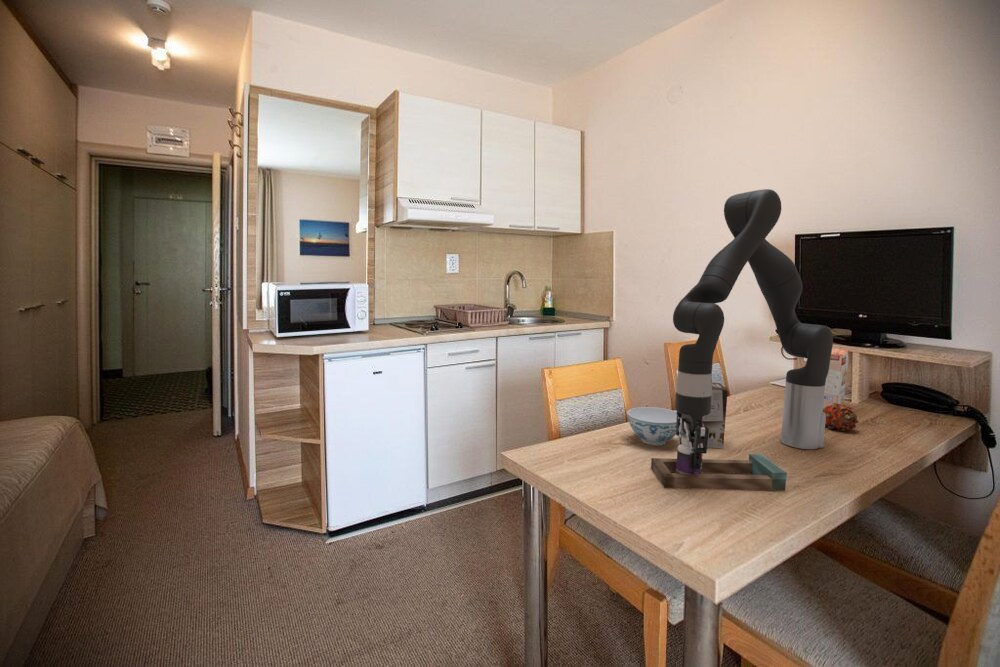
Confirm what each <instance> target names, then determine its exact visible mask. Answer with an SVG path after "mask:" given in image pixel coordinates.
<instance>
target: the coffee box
mask: <svg viewBox="0 0 1000 667" xmlns="http://www.w3.org/2000/svg"><path fill="white" fill-rule="evenodd" d="M728 390H729V389H727V388H726V387H725V386H724V385H722V383H720V382H712V397H711V412H710V414H708V415H705V416H703V417H702V420H703V424H704V427H708V428H709V434H708V444H707V448H712V449H713V448H714V449H724V445H725V443H724V442H725V432H726V431H725V430H726V429H725V428H726V417H727V406H728V405H727V404H728V393H729V391H728Z"/></svg>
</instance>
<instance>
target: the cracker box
mask: <svg viewBox="0 0 1000 667" xmlns="http://www.w3.org/2000/svg"><path fill="white" fill-rule="evenodd" d="M849 357H850V350H849V349H844V348H842V349H841V348H833V347H832V352H831V358H830V365H829V372H828V375H827V378H826V383H825V393H824V404H823V408H825V407H826V406H831V405H833V403H837V404H841V405H842V404H845V402H844V400H845V394H846V393H845V392H846V386H847V376H848V369H849V360H850V358H849Z"/></svg>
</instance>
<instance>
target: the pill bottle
mask: <svg viewBox="0 0 1000 667" xmlns="http://www.w3.org/2000/svg"><path fill="white" fill-rule="evenodd" d="M691 438H695V437H691ZM681 443H682V444H680V443H679V444H680V445H678V446H677V452H676V459H677V466H676V472H675V474H702V473H701V470H702V459H703V456H704V455H703V454H702V455H701V468H700V469H699V470H692V469H691V468H690V452H691V451H690V444H689V443H688V442H687V437H686V435H682V438H681ZM698 448H699V444H698Z"/></svg>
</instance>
